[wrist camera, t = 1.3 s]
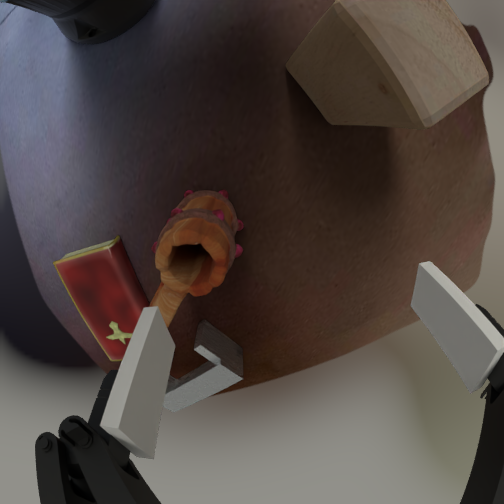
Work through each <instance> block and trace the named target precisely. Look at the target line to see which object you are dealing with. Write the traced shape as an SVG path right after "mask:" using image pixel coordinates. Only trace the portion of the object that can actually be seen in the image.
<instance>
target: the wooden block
mask: <svg viewBox="0 0 504 504" xmlns="http://www.w3.org/2000/svg"><path fill="white" fill-rule="evenodd" d="M285 65H286V68H287V70H288V72H289V73H290V74H291V75H292V76H293V78H294V79H295V80H296V81H297V82H298V84H299V85H300V86H301V87H302V89H303V90H304V91H305V92H306V94H307V95H308V96H309V98H310V99H311V100H312V101H313V103H314V104H315V105H316V107H317V108H318V109H319V111H320V112H321V114H322V115H323V116H324V118H325V119H326V120H327V122H329V123H330V124H332V125H363V126H383V127H397V128H408V129H417V130H422V129H429V128H430V127H431V126H433V125H434V124H436V123H437V122H438V121H440V120H441V119H442V118H444V117H445V116H446V115H448V114H449V113H450V112H452V111H453V110H454V109H456V108H457V107H458V106H460V105H461V104H462V103H464V102H465V101H466V100H468V99H469V98H470V97H472V96H473V95H474V94H476V93H477V92H478V91H480V90H481V89H482V88H484V87H485V86H486V85H488V83H489V77H488V72H487V70H486V68H485V66H484V64H483V62H482V60H481V58H480V56H479V54H478V52H477V50H476V48H475V46H474V44H473V43H472V41H471V39H470V37H469V36H468V34H467V32H466V30H465V29H464V27H463V26H462V24H461V22H460V21H459V19H458V18H457V16H456V15H455V13H454V12H453V10H452V9H451V7H450V6H449V5H448V3H447V2H446V0H336V1H335V2H334V3H333V5H332V6H331V7H330V8H329V9H328V10H327V12H326V13H325V14H324V15H323V16H322V18H321V19H320V20H319V21H318V22H317V24H316V25H315V26H314V27H313V29H312V30H311V31H310V32H309V34H308V35H307V36H306V37H305V39H304V40H303V41H302V43H301V44H300V45H299V47H298V48H297V49H296V50H295V52H294V53H293V54H292V56H291V57H290V58H289V60H288V61H287V63H286V64H285Z"/></svg>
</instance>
